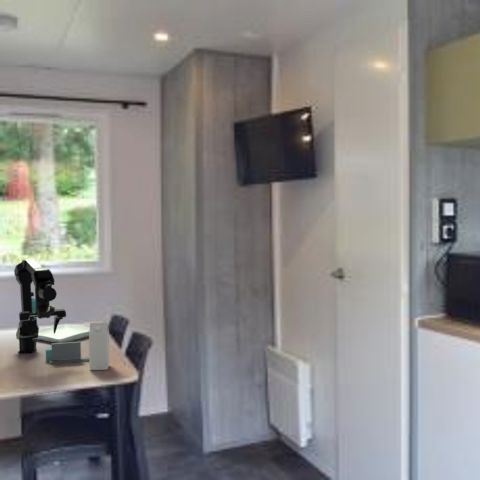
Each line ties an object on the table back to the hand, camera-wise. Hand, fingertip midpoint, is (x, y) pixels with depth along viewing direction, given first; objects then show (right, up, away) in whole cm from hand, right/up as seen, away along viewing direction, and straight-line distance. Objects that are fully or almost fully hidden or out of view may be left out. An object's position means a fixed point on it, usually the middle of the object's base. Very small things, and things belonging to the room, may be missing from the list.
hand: (43, 334), depth 256 cm
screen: (+9, -11, +2) cm, 15 cm away
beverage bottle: (-30, -8, +70) cm, 76 cm away
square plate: (-6, -10, +50) cm, 51 cm away
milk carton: (+26, -13, -7) cm, 30 cm away
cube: (+2, -12, +6) cm, 14 cm away
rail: (+13, -12, +3) cm, 18 cm away
